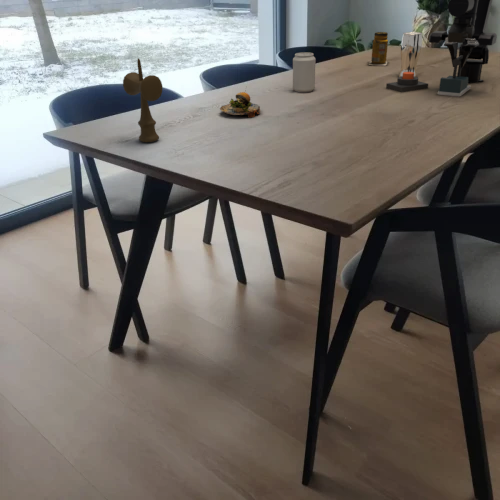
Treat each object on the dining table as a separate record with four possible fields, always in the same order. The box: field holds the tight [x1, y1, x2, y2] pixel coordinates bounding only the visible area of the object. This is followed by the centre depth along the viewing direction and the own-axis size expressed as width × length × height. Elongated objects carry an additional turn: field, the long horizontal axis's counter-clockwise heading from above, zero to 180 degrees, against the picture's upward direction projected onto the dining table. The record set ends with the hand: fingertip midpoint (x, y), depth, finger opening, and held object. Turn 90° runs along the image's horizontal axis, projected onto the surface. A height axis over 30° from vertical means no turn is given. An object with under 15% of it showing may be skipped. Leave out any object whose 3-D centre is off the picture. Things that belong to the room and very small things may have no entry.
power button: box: [402, 72, 414, 79], centre depth 172 cm, size 4×4×2 cm
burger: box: [219, 86, 261, 119], centre depth 151 cm, size 12×12×8 cm
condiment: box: [368, 31, 389, 66], centre depth 213 cm, size 7×8×12 cm
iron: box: [437, 55, 472, 98], centre depth 164 cm, size 12×7×11 cm, turn 145°
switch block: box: [385, 76, 429, 93], centre depth 173 cm, size 11×8×4 cm
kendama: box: [122, 58, 163, 143], centre depth 127 cm, size 6×10×20 cm, turn 43°
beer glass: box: [398, 31, 423, 77], centre depth 187 cm, size 7×7×15 cm
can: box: [292, 52, 316, 93], centre depth 174 cm, size 8×8×12 cm
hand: (457, 67), depth 163 cm, fingers closed on iron, 2 cm apart
